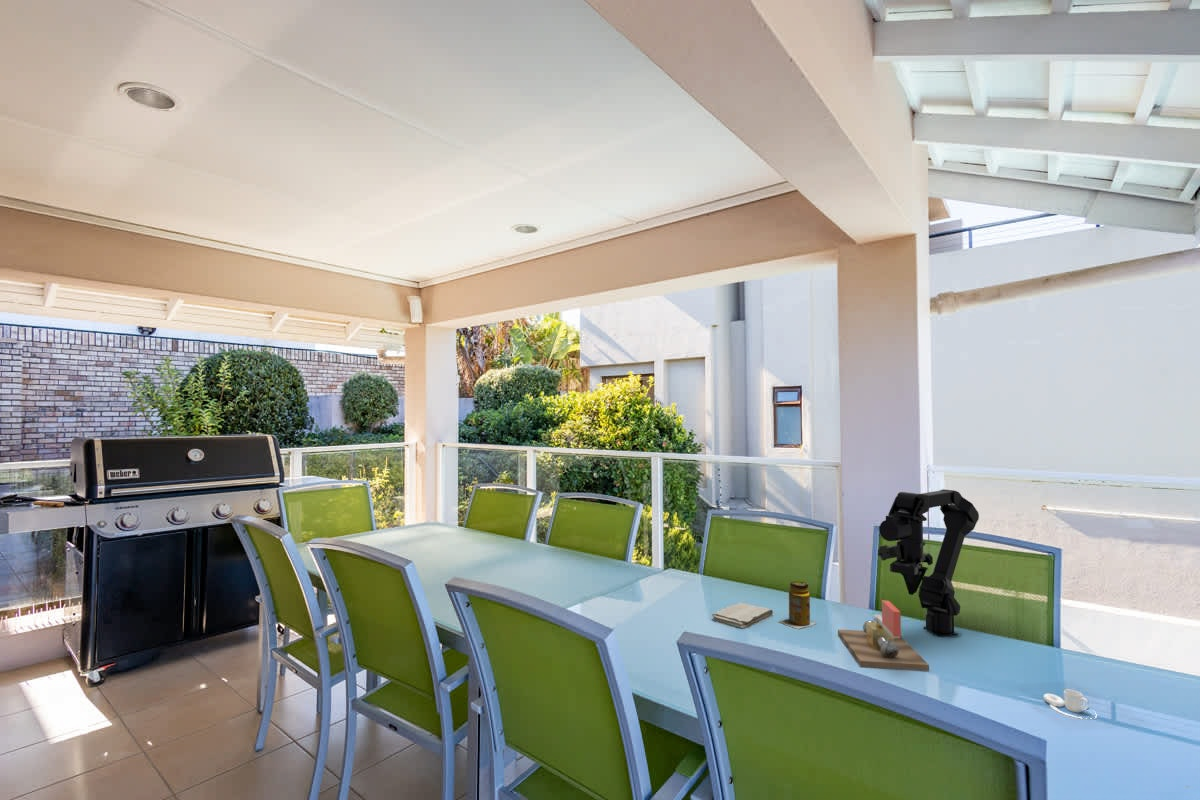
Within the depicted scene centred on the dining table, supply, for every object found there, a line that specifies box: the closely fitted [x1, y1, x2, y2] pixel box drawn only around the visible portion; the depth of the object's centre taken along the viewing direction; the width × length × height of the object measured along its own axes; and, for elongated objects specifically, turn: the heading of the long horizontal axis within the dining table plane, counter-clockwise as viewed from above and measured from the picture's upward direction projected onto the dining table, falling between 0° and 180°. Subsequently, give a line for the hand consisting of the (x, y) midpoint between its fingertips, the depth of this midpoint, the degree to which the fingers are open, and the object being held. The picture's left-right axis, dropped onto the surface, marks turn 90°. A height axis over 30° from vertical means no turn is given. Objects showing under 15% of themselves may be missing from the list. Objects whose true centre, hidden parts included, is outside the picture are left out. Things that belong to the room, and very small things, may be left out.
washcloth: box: [711, 602, 774, 630], centre depth 182 cm, size 12×18×3 cm, turn 136°
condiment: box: [778, 580, 817, 630], centre depth 177 cm, size 7×8×12 cm
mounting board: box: [837, 629, 930, 672], centre depth 155 cm, size 22×16×2 cm
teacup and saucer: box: [1043, 688, 1098, 720], centre depth 125 cm, size 9×8×4 cm
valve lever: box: [873, 599, 902, 638], centre depth 149 cm, size 15×3×7 cm, turn 171°
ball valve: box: [862, 620, 899, 658], centre depth 155 cm, size 16×5×6 cm, turn 171°
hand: (912, 593), depth 163 cm, fingers closed
